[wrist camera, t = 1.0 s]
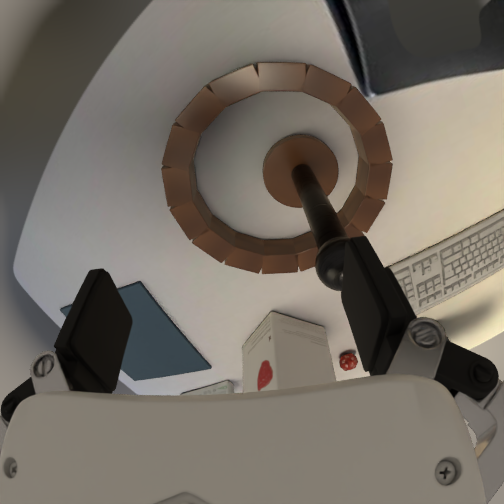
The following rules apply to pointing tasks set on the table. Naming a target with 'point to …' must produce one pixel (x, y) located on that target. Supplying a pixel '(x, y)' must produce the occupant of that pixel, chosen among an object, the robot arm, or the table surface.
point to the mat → (154, 339)
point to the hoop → (243, 86)
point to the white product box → (286, 355)
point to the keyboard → (452, 264)
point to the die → (348, 361)
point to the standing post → (310, 197)
